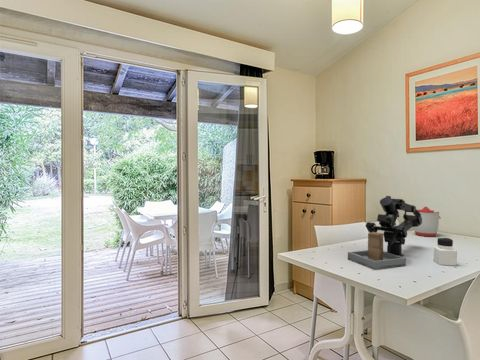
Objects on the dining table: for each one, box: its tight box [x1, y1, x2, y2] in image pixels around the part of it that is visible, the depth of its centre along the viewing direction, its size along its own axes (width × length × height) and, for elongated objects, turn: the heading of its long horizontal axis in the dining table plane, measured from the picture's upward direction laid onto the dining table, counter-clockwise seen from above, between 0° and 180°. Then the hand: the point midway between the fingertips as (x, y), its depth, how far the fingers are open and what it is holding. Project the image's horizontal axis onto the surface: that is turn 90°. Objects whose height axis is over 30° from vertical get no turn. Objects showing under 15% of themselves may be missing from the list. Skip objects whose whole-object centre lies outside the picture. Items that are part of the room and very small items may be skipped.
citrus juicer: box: [412, 206, 442, 237], centre depth 212 cm, size 16×17×20 cm
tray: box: [347, 249, 407, 271], centre depth 147 cm, size 18×18×4 cm
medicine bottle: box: [433, 237, 458, 267], centre depth 146 cm, size 7×7×12 cm
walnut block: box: [367, 231, 384, 261], centre depth 147 cm, size 5×5×13 cm
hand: (380, 243), depth 150 cm, fingers open, 9 cm apart
